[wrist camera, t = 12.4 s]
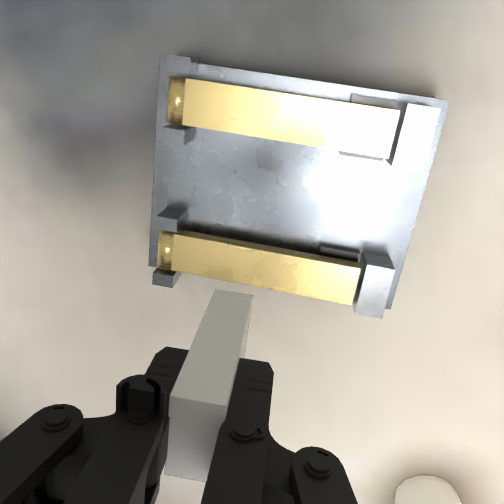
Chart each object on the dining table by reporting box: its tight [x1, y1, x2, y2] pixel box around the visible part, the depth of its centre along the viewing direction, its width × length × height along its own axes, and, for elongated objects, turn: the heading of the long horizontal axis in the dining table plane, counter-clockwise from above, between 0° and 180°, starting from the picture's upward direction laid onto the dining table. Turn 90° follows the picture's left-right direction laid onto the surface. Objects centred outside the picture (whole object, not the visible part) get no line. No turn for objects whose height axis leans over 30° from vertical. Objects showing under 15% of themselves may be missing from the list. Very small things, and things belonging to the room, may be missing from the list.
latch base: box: [148, 54, 450, 318], centre depth 34 cm, size 20×17×7 cm
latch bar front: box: [166, 75, 400, 158], centre depth 30 cm, size 15×3×2 cm, turn 82°
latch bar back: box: [157, 229, 361, 305], centre depth 34 cm, size 15×3×2 cm, turn 82°
